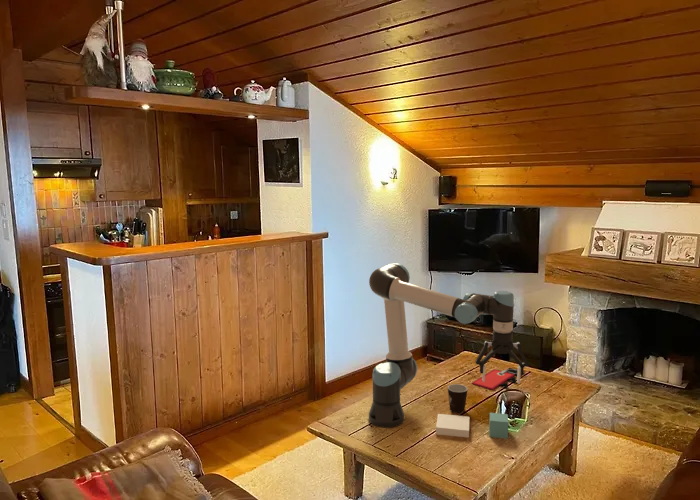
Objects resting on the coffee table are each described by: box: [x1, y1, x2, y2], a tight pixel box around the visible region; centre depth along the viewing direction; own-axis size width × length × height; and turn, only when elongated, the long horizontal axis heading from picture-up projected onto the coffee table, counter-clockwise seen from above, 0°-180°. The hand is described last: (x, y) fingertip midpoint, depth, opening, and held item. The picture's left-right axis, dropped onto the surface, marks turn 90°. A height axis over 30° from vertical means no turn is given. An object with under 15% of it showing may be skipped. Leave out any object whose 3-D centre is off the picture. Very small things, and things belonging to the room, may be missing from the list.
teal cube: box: [488, 412, 509, 440], centre depth 218 cm, size 7×7×7 cm
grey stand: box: [435, 413, 470, 439], centre depth 223 cm, size 13×12×3 cm
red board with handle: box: [471, 367, 525, 391], centre depth 272 cm, size 30×3×15 cm
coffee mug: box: [447, 383, 468, 414], centre depth 241 cm, size 12×9×10 cm
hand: (501, 381), depth 217 cm, fingers open, 13 cm apart
